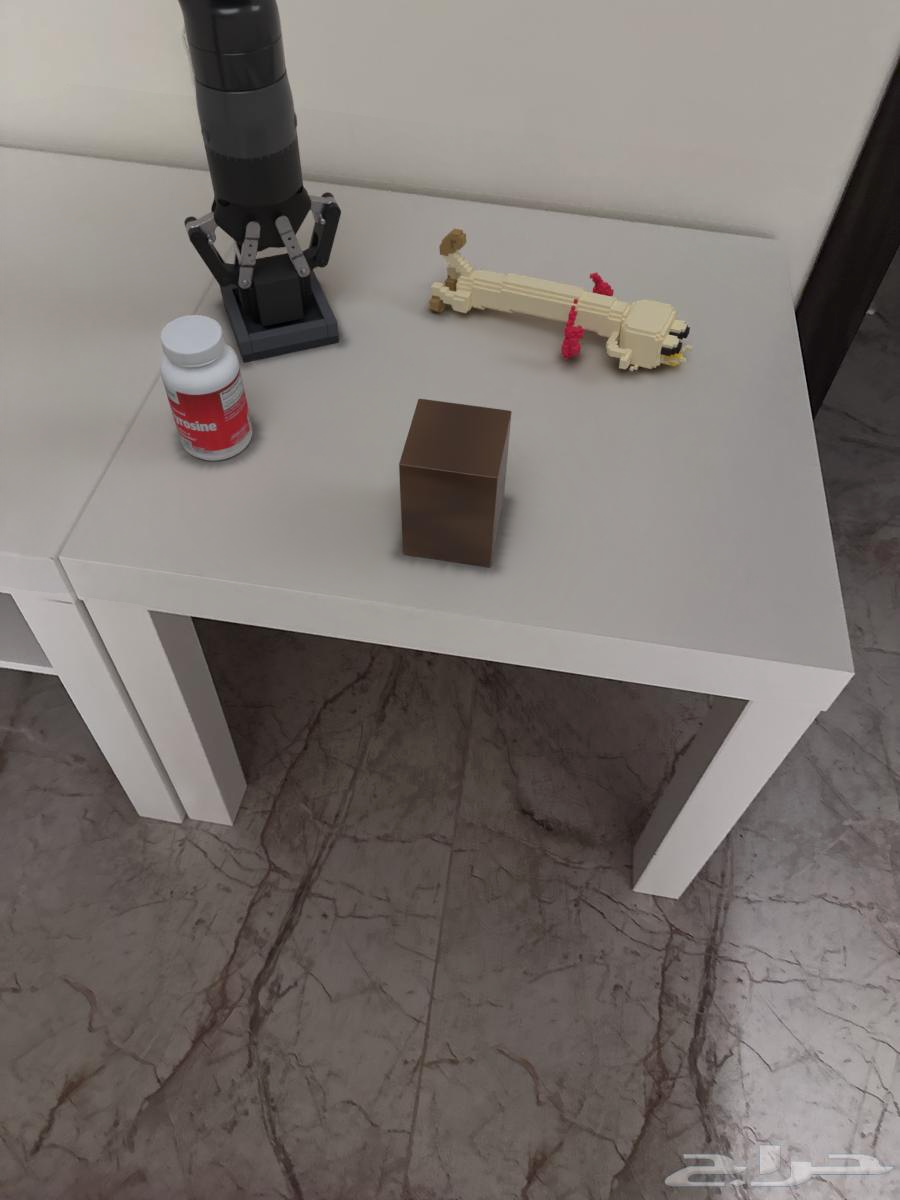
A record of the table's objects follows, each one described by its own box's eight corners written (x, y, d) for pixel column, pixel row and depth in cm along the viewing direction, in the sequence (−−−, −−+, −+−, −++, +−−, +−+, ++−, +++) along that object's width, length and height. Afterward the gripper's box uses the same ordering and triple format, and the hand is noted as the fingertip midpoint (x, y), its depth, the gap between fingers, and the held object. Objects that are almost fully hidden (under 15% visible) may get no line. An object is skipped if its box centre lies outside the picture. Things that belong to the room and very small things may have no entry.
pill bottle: (166, 445, 79) (132, 340, 70) (212, 404, 83) (186, 298, 74) (223, 473, 78) (195, 369, 69) (268, 430, 81) (247, 325, 72)
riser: (402, 554, 73) (398, 464, 65) (420, 490, 77) (418, 397, 69) (490, 567, 72) (497, 478, 64) (503, 502, 76) (511, 410, 68)
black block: (262, 326, 87) (255, 285, 83) (253, 302, 89) (245, 260, 85) (304, 318, 88) (298, 276, 84) (293, 294, 90) (288, 252, 86)
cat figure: (421, 337, 90) (671, 396, 83) (413, 255, 84) (684, 312, 76) (464, 282, 96) (702, 333, 88) (459, 201, 89) (717, 249, 81)
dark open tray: (243, 362, 86) (239, 342, 84) (223, 304, 91) (219, 284, 89) (339, 342, 88) (337, 322, 86) (314, 287, 93) (312, 266, 91)
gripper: (323, 95, 78) (339, 274, 92) (153, 121, 75) (196, 302, 89) (347, 138, 74) (360, 319, 88) (168, 167, 71) (211, 349, 85)
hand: (278, 309), depth 88 cm, fingers closed on black block, 4 cm apart
